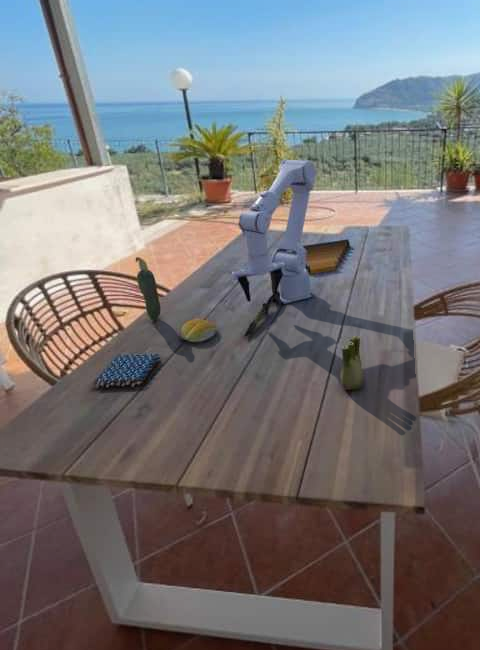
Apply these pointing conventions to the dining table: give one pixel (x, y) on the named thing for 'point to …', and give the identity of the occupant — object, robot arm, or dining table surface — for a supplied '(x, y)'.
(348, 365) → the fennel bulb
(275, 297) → the knife
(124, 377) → the woven mat
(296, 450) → the dining table surface
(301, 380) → the dining table surface
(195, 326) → the bread roll
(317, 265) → the pan flute
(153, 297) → the vegetable
